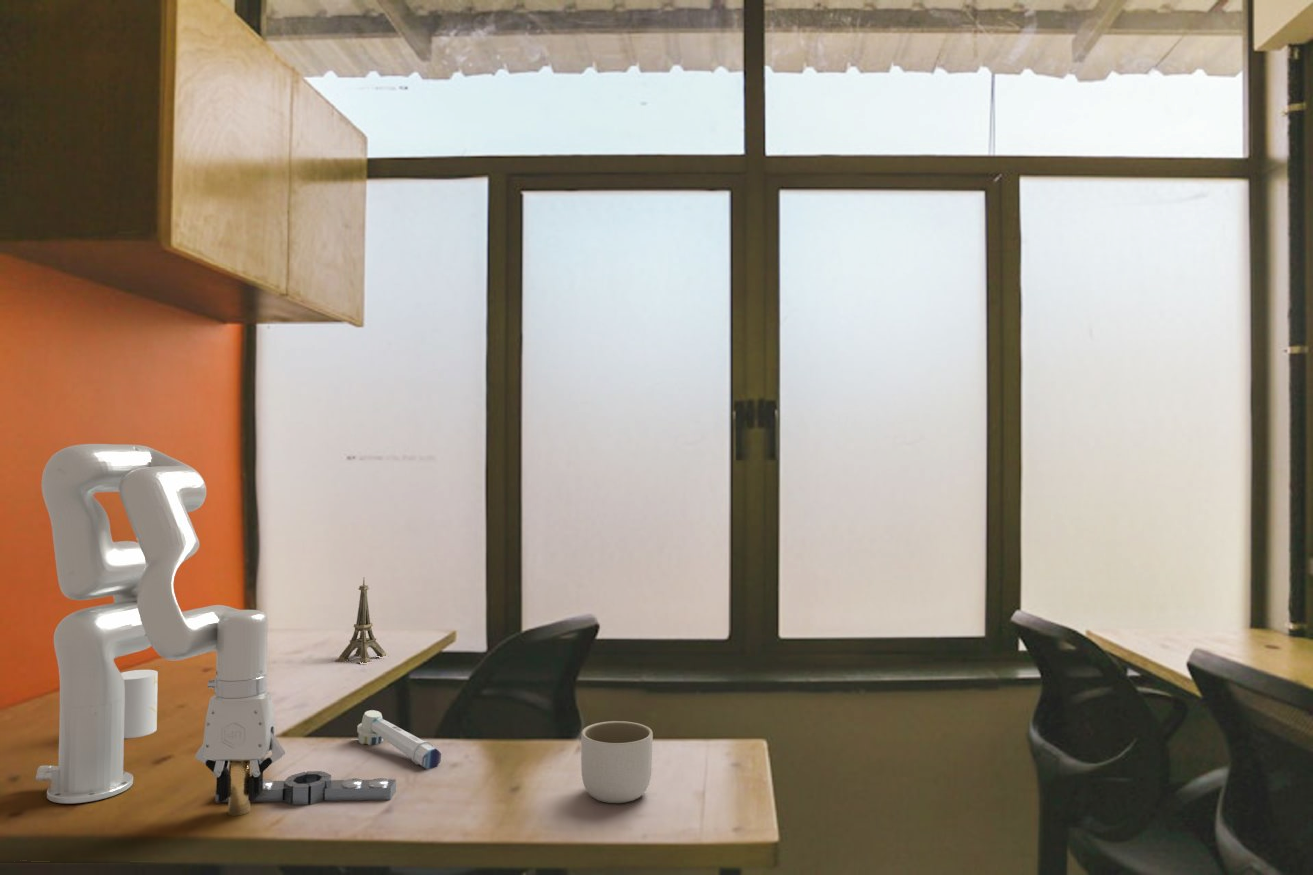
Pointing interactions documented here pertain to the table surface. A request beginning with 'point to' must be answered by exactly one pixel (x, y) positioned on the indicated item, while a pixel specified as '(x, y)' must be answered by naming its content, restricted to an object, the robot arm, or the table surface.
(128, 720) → the cup
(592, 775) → the planter
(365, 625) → the eiffel tower
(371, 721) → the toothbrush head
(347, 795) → the studded octagon ring bar
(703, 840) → the table surface
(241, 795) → the pin
